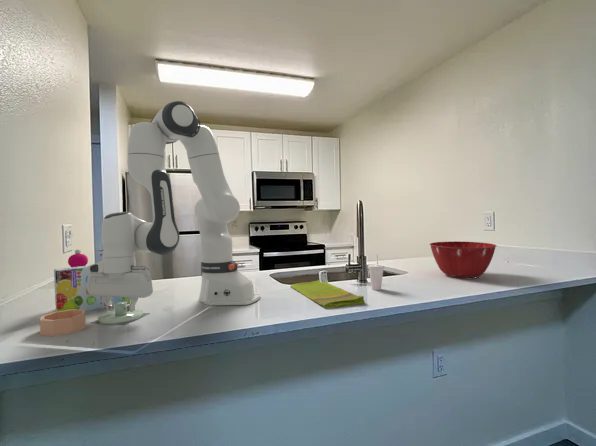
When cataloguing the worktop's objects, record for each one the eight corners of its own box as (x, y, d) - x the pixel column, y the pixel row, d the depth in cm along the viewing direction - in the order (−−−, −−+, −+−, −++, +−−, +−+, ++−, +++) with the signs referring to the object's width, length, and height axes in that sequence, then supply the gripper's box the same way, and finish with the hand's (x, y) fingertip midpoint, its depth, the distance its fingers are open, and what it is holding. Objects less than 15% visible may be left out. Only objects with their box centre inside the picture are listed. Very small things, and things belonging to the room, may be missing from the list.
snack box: (126, 302, 121) (125, 261, 121) (130, 305, 117) (129, 262, 116) (55, 314, 108) (53, 268, 107) (56, 317, 103) (54, 270, 103)
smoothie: (386, 290, 130) (385, 255, 130) (370, 291, 130) (369, 255, 130) (382, 287, 137) (381, 253, 136) (366, 287, 137) (366, 254, 136)
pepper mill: (88, 301, 123) (86, 247, 123) (93, 304, 118) (91, 249, 118) (65, 305, 118) (63, 249, 118) (69, 308, 113) (67, 250, 113)
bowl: (94, 325, 95) (93, 310, 95) (62, 338, 85) (62, 321, 85) (65, 324, 97) (64, 308, 97) (31, 336, 87) (30, 319, 87)
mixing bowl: (503, 283, 139) (502, 247, 139) (430, 280, 149) (430, 246, 149) (490, 272, 166) (490, 241, 165) (429, 269, 176) (429, 241, 175)
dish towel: (325, 310, 107) (324, 301, 107) (289, 288, 141) (289, 280, 141) (365, 305, 112) (365, 296, 112) (322, 285, 146) (322, 277, 146)
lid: (151, 312, 105) (151, 298, 104) (124, 325, 93) (123, 309, 93) (118, 311, 107) (118, 297, 107) (88, 323, 95) (87, 308, 95)
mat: (150, 315, 104) (150, 313, 104) (125, 326, 93) (125, 324, 93) (117, 313, 106) (117, 311, 106) (89, 324, 96) (89, 322, 96)
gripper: (156, 264, 100) (157, 309, 101) (99, 263, 105) (100, 306, 105) (142, 267, 94) (144, 315, 95) (82, 266, 98) (84, 312, 99)
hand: (120, 311), depth 100 cm, fingers open, 5 cm apart
